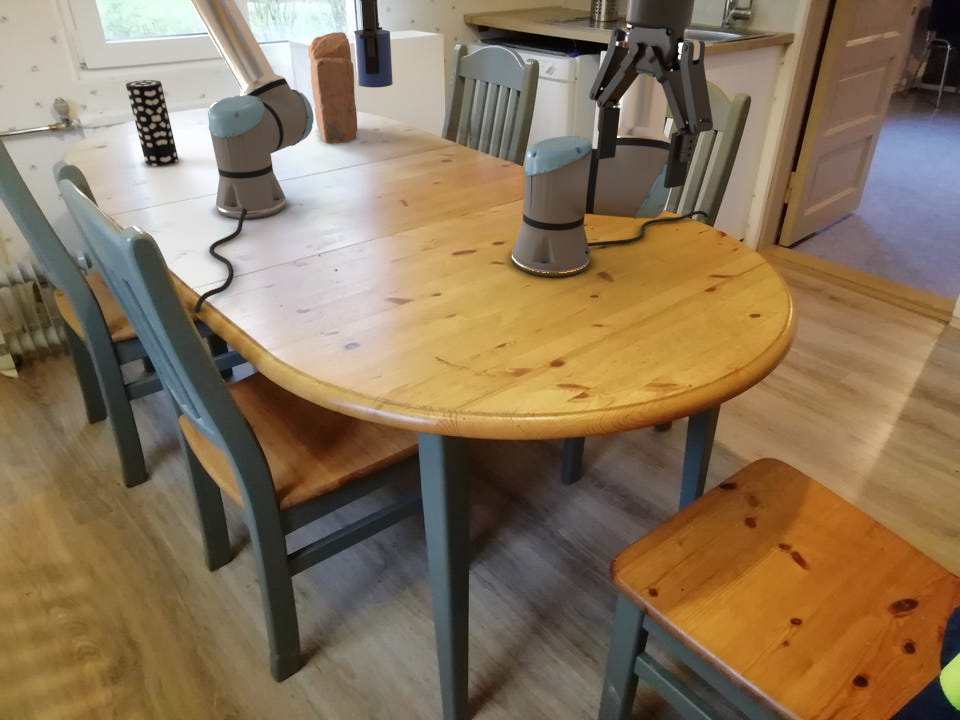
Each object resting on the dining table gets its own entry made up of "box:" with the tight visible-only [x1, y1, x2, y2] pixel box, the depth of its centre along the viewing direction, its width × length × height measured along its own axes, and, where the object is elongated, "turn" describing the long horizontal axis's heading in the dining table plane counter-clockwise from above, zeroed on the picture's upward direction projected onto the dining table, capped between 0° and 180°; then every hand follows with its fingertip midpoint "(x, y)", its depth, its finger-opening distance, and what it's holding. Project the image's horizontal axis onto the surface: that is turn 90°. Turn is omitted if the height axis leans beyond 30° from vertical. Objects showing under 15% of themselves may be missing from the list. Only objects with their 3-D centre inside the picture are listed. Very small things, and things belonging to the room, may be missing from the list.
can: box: [353, 29, 394, 88], centre depth 142 cm, size 7×7×10 cm
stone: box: [308, 31, 358, 145], centre depth 203 cm, size 22×11×28 cm, turn 18°
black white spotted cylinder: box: [125, 79, 179, 167], centre depth 181 cm, size 8×8×20 cm
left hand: (373, 69), depth 143 cm, fingers closed on can, 7 cm apart
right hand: (637, 171), depth 90 cm, fingers open, 13 cm apart
